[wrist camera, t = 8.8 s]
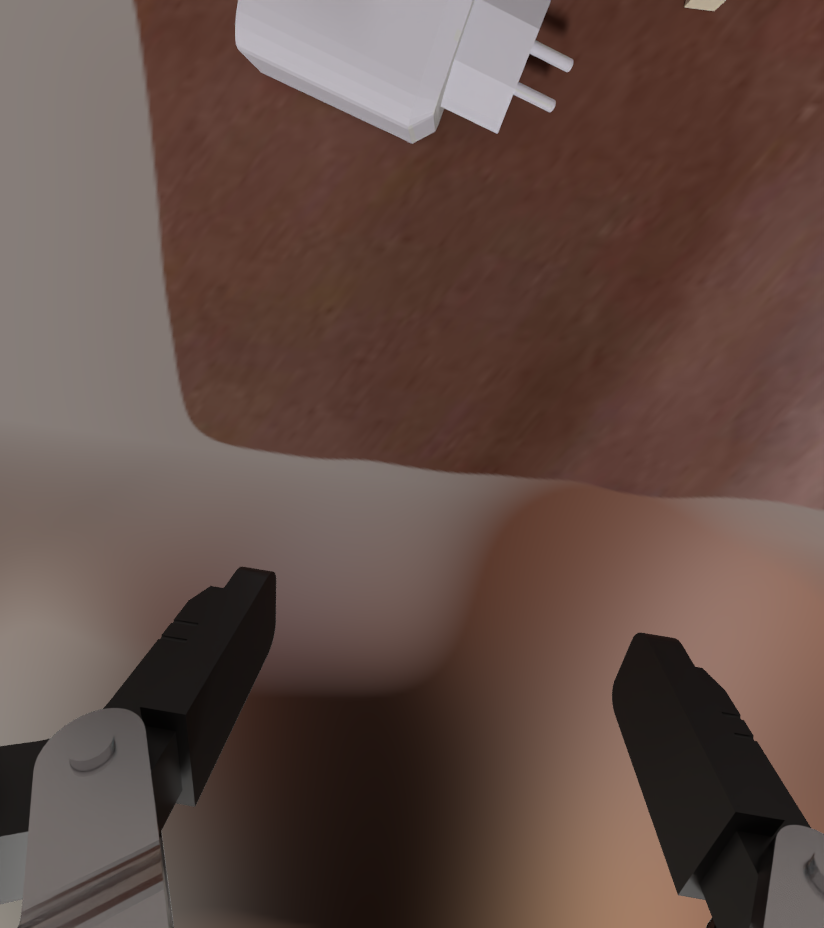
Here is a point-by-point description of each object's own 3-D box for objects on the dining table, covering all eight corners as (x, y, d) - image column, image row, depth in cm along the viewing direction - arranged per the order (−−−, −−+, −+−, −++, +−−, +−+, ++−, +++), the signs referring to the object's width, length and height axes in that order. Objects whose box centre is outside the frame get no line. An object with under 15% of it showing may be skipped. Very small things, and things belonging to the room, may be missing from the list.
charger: (513, 193, 27) (266, 77, 26) (598, -4, 23) (315, -152, 22) (525, 181, 23) (229, 40, 21) (633, -63, 19) (282, -253, 18)
